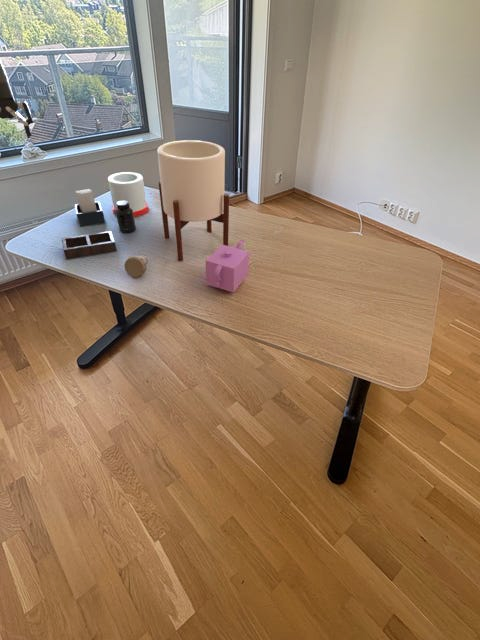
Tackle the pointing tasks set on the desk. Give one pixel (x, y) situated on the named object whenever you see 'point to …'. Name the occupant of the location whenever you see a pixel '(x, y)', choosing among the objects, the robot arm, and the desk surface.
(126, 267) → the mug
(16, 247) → the desk surface
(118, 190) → the container
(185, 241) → the desk surface
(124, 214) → the supplement bottle
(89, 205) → the cosmetic box
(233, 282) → the teapot
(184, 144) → the planter
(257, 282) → the desk surface
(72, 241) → the box
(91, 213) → the dark grey open box
